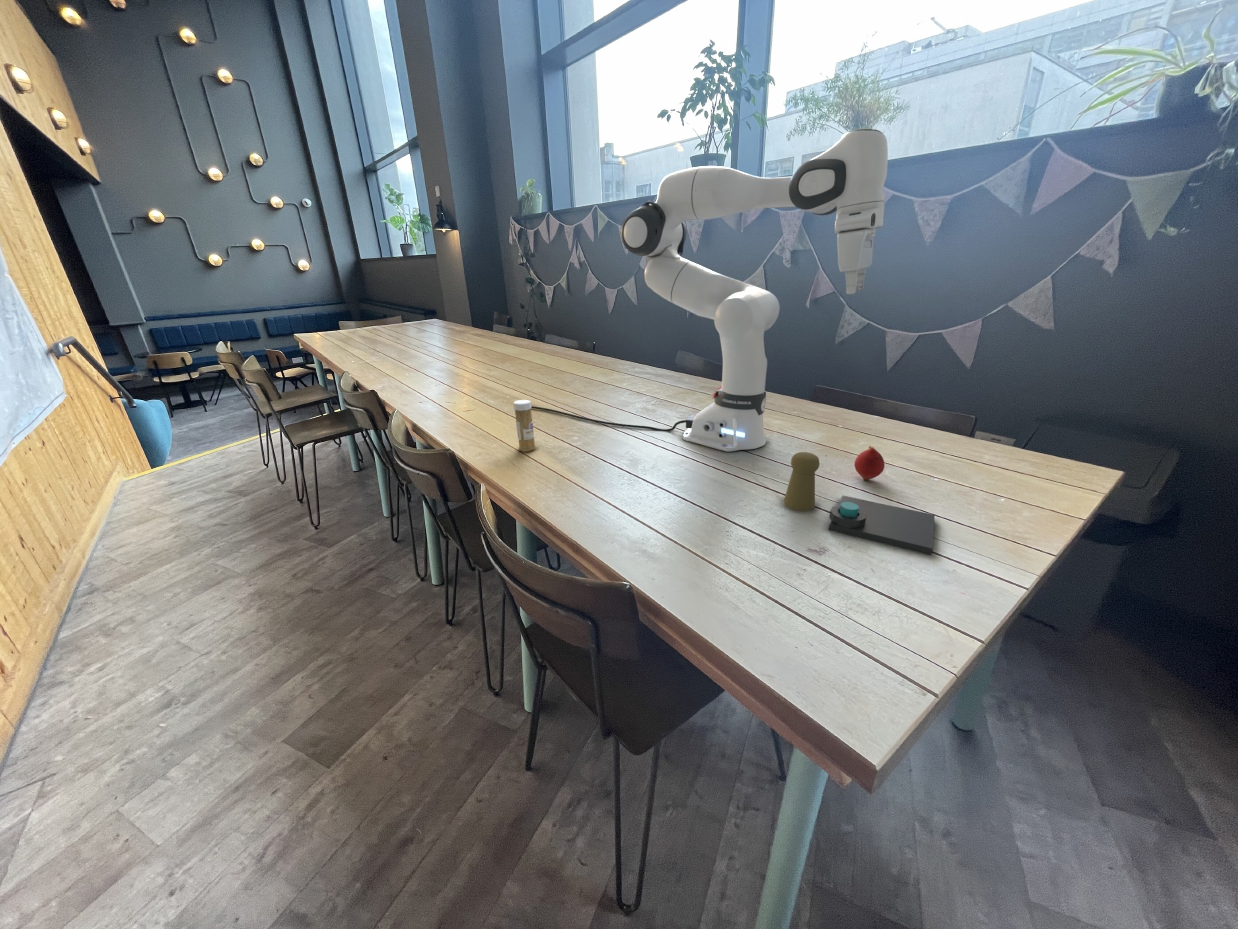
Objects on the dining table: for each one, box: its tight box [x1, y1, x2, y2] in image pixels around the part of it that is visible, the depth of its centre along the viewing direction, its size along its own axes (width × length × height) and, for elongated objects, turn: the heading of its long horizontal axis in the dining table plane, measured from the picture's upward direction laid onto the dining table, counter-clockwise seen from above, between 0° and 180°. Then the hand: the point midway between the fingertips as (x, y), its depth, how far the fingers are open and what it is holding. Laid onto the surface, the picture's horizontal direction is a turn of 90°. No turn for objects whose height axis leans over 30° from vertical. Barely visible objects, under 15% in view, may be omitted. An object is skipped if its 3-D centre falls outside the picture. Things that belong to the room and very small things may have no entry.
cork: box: [783, 451, 820, 512], centre depth 93 cm, size 6×6×11 cm
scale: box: [828, 495, 936, 556], centre depth 87 cm, size 16×13×3 cm
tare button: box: [839, 502, 859, 517], centre depth 86 cm, size 3×3×2 cm
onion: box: [853, 445, 885, 481], centre depth 103 cm, size 6×6×8 cm
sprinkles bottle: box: [513, 399, 536, 453], centre depth 126 cm, size 5×5×14 cm
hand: (854, 292), depth 102 cm, fingers open, 8 cm apart
